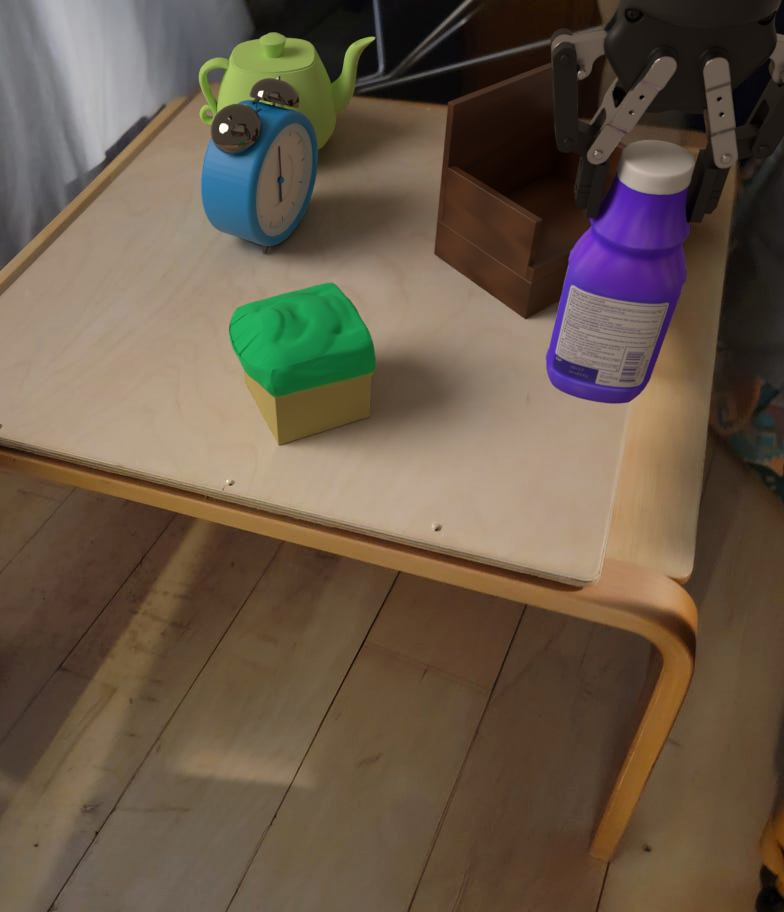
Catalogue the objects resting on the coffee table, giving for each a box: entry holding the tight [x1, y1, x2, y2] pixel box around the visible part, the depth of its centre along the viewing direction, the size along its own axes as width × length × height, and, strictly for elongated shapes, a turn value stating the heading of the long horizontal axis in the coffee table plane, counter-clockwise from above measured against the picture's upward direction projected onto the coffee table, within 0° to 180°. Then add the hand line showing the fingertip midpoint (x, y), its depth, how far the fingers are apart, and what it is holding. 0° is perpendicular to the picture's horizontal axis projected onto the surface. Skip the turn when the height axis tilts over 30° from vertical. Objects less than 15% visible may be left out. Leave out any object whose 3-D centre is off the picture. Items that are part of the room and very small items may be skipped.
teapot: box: [198, 31, 376, 151], centre depth 103 cm, size 16×14×13 cm
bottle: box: [545, 139, 696, 405], centre depth 58 cm, size 7×6×17 cm
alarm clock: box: [200, 75, 319, 255], centre depth 90 cm, size 13×6×15 cm, turn 150°
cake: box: [228, 281, 377, 446], centre depth 74 cm, size 10×11×10 cm
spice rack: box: [433, 62, 628, 320], centre depth 85 cm, size 13×16×16 cm
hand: (640, 212), depth 55 cm, fingers closed on bottle, 5 cm apart
